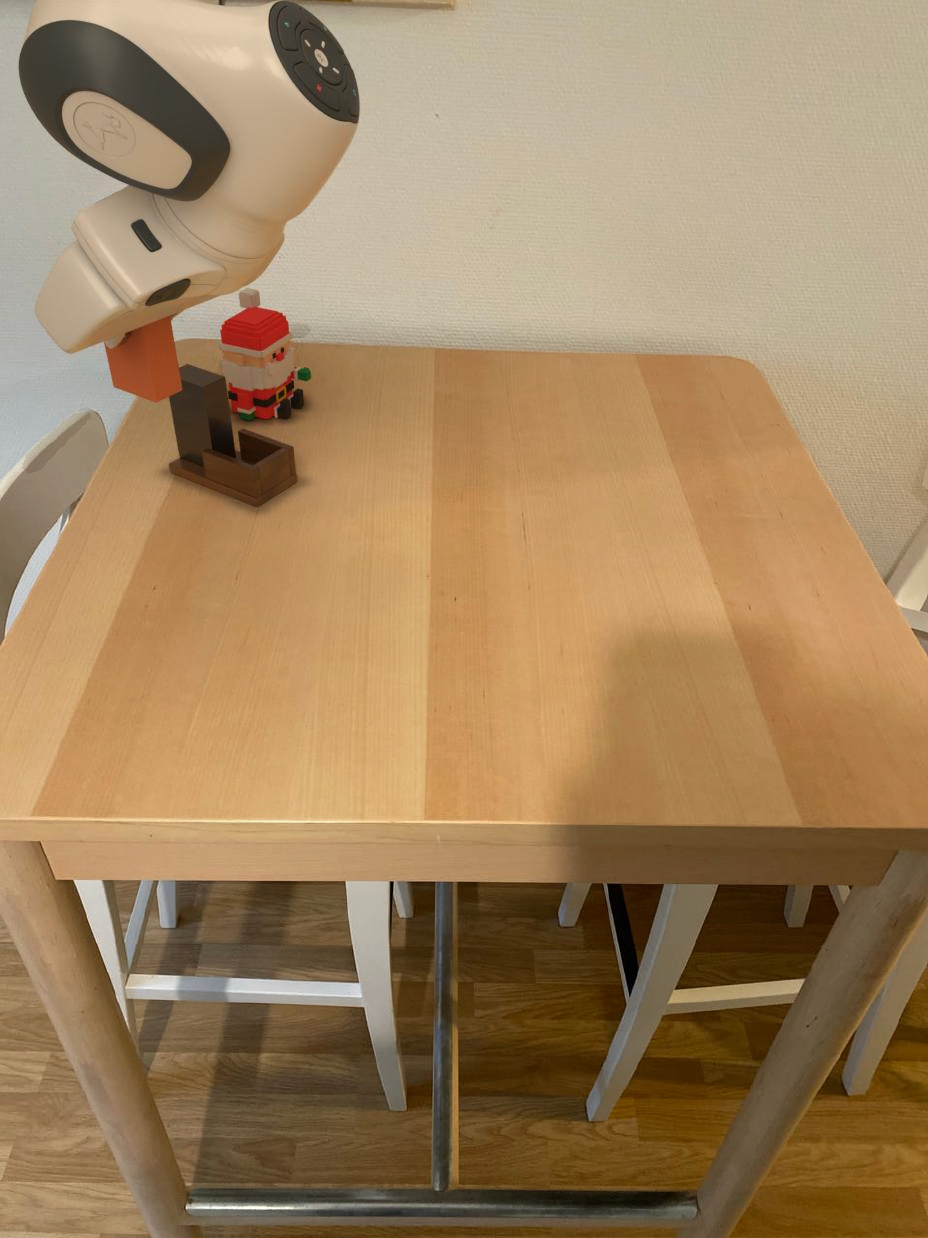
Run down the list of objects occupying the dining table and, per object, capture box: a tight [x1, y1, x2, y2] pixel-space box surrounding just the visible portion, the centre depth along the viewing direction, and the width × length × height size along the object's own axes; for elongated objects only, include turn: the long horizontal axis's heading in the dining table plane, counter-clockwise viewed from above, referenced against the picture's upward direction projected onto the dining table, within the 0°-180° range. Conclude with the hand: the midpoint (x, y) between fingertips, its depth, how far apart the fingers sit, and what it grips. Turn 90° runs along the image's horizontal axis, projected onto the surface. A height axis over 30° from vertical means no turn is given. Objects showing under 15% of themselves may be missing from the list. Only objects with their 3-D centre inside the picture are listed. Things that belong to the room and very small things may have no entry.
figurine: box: [218, 287, 312, 421], centre depth 100 cm, size 8×7×12 cm
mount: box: [168, 363, 298, 508], centre depth 88 cm, size 6×12×10 cm, turn 58°
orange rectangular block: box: [103, 316, 182, 403], centre depth 73 cm, size 3×5×9 cm, turn 58°
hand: (131, 330), depth 73 cm, fingers closed on orange rectangular block, 3 cm apart
